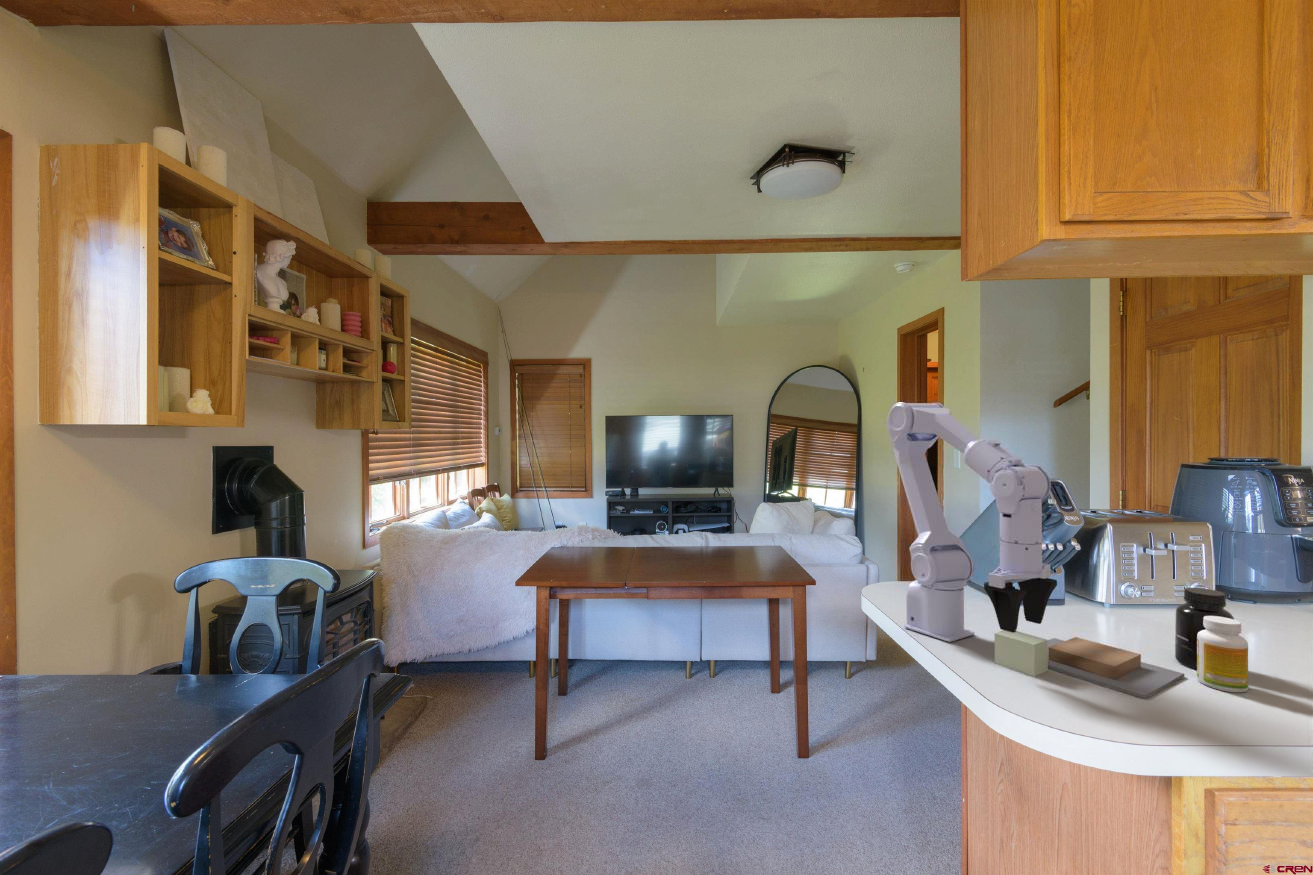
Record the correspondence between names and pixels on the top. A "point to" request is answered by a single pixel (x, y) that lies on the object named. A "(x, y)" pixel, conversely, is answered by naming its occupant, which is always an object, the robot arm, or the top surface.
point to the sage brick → (1021, 652)
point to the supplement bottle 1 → (1195, 621)
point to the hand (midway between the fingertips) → (1020, 626)
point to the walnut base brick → (1095, 657)
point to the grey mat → (1124, 677)
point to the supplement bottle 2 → (1222, 655)
